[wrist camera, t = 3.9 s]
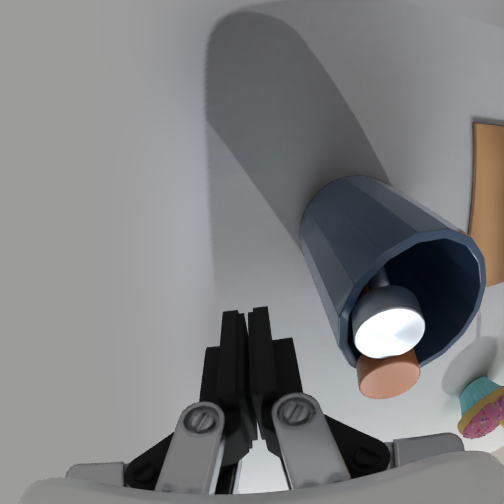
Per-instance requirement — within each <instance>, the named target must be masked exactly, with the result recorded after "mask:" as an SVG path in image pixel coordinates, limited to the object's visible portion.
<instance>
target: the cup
mask: <svg viewBox="0 0 504 504" xmlns="http://www.w3.org/2000/svg"><path fill="white" fill-rule="evenodd" d="M300 241H301V246H302V252H303V255H304V257H305V260H306V262H307V265H308V267H309V270H310V273H311V275H312V278H313V280H314V283H315V285H316V288H317V291H318V293H319V296H320V299H321V301H322V304H323V307H324V309H325V312H326V315H327V317H328V320H329V323H330V325H331V328H332V331H333V334H334V336H335V339H336V342H337V345H338V347H339V349H340V350H341V352H342V354H343V356H344V357H345V359H346V361H347V362H348V364H349V365H350V366H352V367H354V368H356V364H357V361H358V359H359V357H360V356H361V354H362V353H361V352H360V351H359V350H358V349H357V348H356V346H355V343H354V337H353V327H352V311H353V308H354V307H355V305H356V303H357V302H358V300H359V299H360V298H361V296H360V293H361V291H362V288H363V287H364V286H365V285H366V284H367V283H368V282H369V281H370V280H371V278H372V277H373V276H374V275H375V274H376V273H377V272H378V271H379V270H380V269H381V268H382V267H383V265H384V268H385V271H386V275H387V278H388V281H389V284H390V285H396V286H401V287H404V288H407V289H408V290H410V291H411V292H412V293H413V294H414V295H415V296H416V298H417V301H418V303H419V306H420V309H421V312H422V315H423V318H424V320H425V331H424V334H423V336H422V338H421V340H420V341H419V342H418V343H417V344H416V345H415V346H414V347H413V349H414V351H415V355H416V358H417V361H418V364H419V368H421V367H423V366H424V365H426V364H428V363H429V362H431V361H433V360H434V359H436V358H438V357H439V356H441V355H443V353H445V352H446V351H447V350H448V349H449V348H450V347H451V346H452V345H453V344H454V343H455V342H456V341H457V340H458V339H459V338H460V337H461V336H462V335H463V334H464V333H465V331H466V330H467V328H468V327H469V325H470V323H471V322H472V320H473V319H474V317H475V315H476V313H477V312H478V310H479V308H480V305H481V301H482V298H483V294H484V290H485V287H486V282H487V281H486V268H485V258H484V256H483V254H482V252H481V251H480V249H479V248H478V246H477V245H476V243H475V241H474V240H473V238H472V237H470V236H469V235H468V234H466V233H465V232H463V231H462V230H460V229H459V228H457V227H456V226H454V225H453V224H452V223H450V222H449V221H447V220H445V219H444V218H442V217H441V216H439V215H438V214H436V213H435V212H433V211H431V210H430V209H428V208H427V207H425V206H423V205H422V204H420V203H419V202H417V201H415V200H414V199H412V198H410V197H409V196H407V195H405V194H404V193H402V192H400V191H398V190H397V189H395V188H393V187H391V186H390V185H388V184H386V183H383V182H381V181H379V180H376V179H374V178H371V177H367V176H348V177H344V178H341V179H338V180H336V181H333V182H331V183H330V184H328V185H327V186H325V187H324V188H323V189H321V190H320V191H319V192H318V193H317V194H316V195H315V196H314V197H313V199H312V200H311V202H310V203H309V205H308V206H307V208H306V210H305V212H304V215H303V218H302V222H301V227H300Z"/></svg>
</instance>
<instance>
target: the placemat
mask: <svg viewBox="0 0 504 504" xmlns="http://www.w3.org/2000/svg"><path fill="white" fill-rule="evenodd" d="M473 133H474V167H473V189H472V202H471V213H470V222H469V230H468V235H469V236H470V237H472V238H473V240H474V241H475V243H476V245H477V246H478V248H479V249H480V251H481V252H482V254H483V256H484V258H485V268H486V281H487V282H486V287H489V286H492V285H495V284H498V283H501V282H504V126H498V125H490V124H482V123H473Z"/></svg>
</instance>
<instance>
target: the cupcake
mask: <svg viewBox="0 0 504 504" xmlns="http://www.w3.org/2000/svg"><path fill="white" fill-rule="evenodd" d="M459 400H460V405H461V412H462V418H461V420H460V421H459V423H458V430H459V432H460V433H461V434H462V435H463V437H466V438H471V439H472V438H479V437H482V436H485V435H486V434H487V433H489V432H491V431H492V430H495V428H496V427H497V426H498V425H499V424H501V425H502V427H503V428H504V386H500V385H498V384H496V383H494V382H493V381H491V380H490V379H488V378H487V377H480V378H478V379H476V380H475V381H473V382H472V383H471V384H469V385H468V386H467V387H466V388H465V389H464V391H463V392H462V393H461V395H460V398H459Z"/></svg>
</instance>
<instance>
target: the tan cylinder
mask: <svg viewBox="0 0 504 504" xmlns="http://www.w3.org/2000/svg"><path fill="white" fill-rule="evenodd" d="M368 292H369V289H368V284H366V285H365V286H364V287H363V288H362V291H361V293H360V296H361V297H362V296H364V295H365V294H366V293H368ZM356 369H357V377H358V385H359V390H360V392H361V393H362V394H363V395H364V396H366V397H369V398H373V399H385V398H390V397H394V396H397V395H400V394H402V393H404V392H405V391H407V390H409V389H410V388H411V387H412V386H413V385H414V384H415V383H416V382H417V380H418V379H419V376H420V368H419V364H418V361H417V358H416V355H415V351H414V349H413V348H412V349H410V350H409V351H407V352H406V353H403V354H401V355H399V356H396V357H392V358H386V359H377V358H371V357H368V356H366V355H364V354H361V356H360V357H359V359H358V361H357V364H356Z"/></svg>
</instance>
